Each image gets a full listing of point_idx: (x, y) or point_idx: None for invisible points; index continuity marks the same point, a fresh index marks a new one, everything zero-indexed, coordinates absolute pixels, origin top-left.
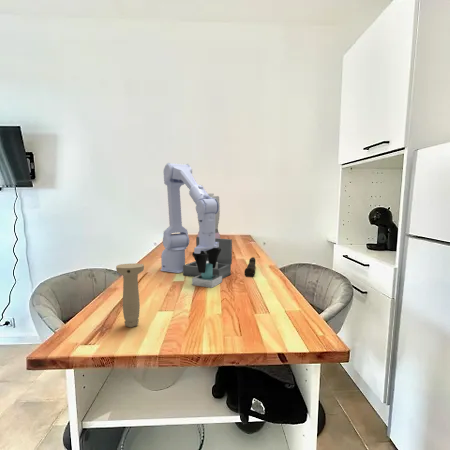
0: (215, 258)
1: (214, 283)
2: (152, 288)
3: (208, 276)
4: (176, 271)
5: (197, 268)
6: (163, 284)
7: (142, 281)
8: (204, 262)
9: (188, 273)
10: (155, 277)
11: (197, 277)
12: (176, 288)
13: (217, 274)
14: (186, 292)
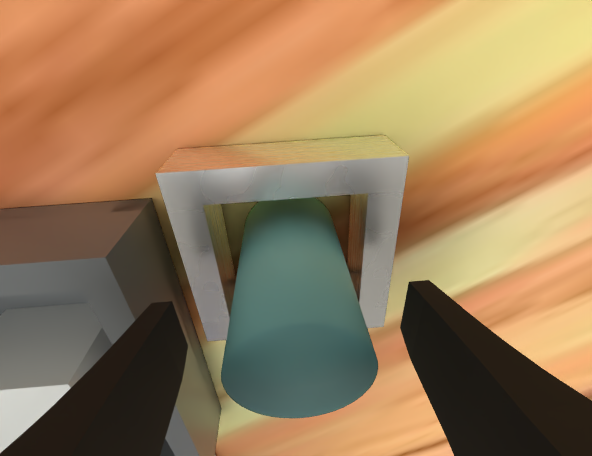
0: (97, 432)
1: (338, 146)
2: None
3: (333, 242)
4: None
5: (185, 410)
6: (415, 386)
7: (402, 448)
8: (579, 394)
9: (211, 404)
10: (325, 451)
11: None
12: None
13: (136, 244)
14: (537, 231)
